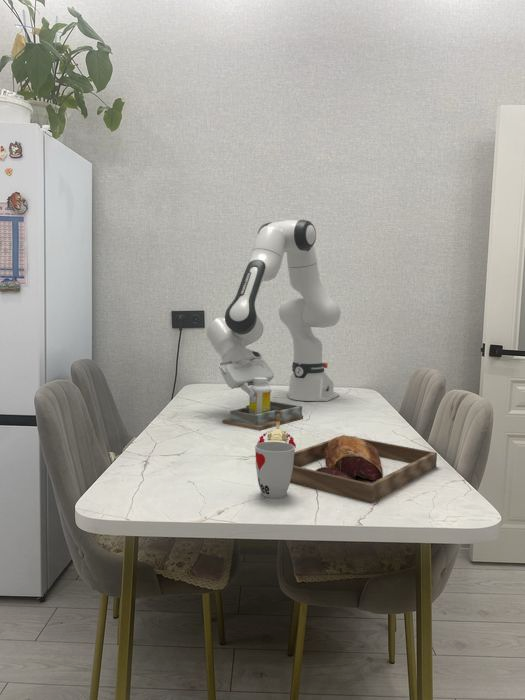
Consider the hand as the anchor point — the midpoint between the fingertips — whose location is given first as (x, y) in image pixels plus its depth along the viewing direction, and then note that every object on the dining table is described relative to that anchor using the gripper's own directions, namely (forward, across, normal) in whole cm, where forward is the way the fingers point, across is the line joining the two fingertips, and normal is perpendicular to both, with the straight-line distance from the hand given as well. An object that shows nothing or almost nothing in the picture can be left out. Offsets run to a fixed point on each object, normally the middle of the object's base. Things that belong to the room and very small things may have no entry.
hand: (261, 394), depth 190 cm
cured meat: (+41, -29, -27) cm, 57 cm away
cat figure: (+24, -24, -10) cm, 35 cm away
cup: (+38, -51, -24) cm, 68 cm away
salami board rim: (+41, -26, -28) cm, 56 cm away
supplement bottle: (+5, 0, +6) cm, 8 cm away
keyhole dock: (+6, +2, +7) cm, 9 cm away
